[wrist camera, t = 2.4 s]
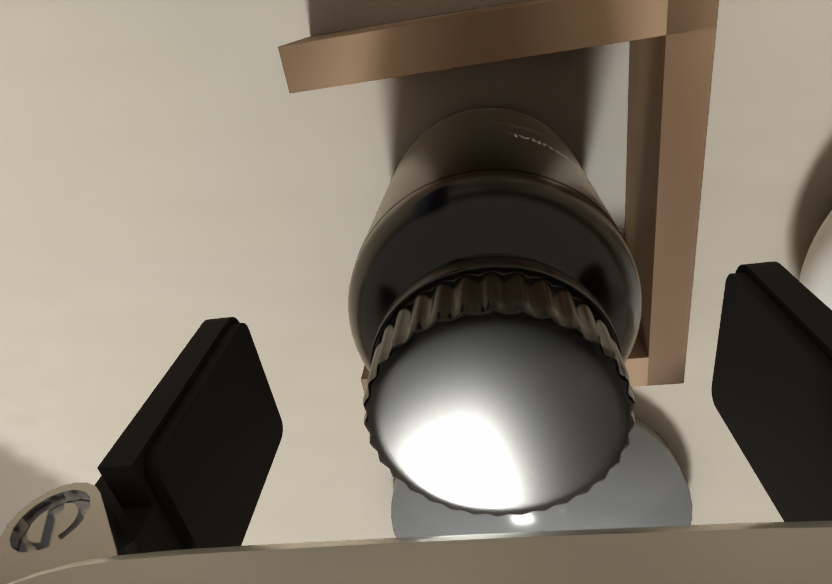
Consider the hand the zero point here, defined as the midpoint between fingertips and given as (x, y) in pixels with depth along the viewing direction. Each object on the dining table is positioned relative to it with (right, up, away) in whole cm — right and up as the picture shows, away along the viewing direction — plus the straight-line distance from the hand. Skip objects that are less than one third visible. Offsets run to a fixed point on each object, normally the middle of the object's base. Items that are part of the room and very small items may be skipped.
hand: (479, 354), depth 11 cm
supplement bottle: (+1, +5, +9) cm, 11 cm away
